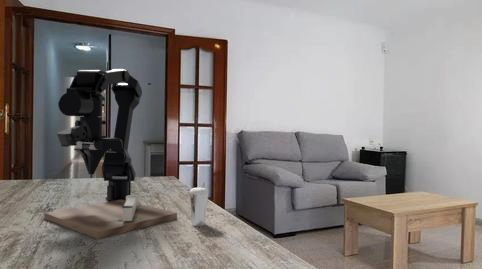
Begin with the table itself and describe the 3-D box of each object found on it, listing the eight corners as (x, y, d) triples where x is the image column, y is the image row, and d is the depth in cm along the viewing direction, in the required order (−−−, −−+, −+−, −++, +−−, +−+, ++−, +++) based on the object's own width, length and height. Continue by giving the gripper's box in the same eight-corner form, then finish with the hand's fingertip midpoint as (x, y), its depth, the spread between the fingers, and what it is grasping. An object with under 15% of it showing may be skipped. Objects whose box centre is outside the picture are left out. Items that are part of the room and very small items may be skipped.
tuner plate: (121, 204, 105) (121, 199, 105) (177, 218, 89) (177, 212, 89) (44, 218, 87) (44, 212, 87) (97, 239, 72) (97, 231, 72)
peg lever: (126, 205, 94) (126, 194, 94) (140, 205, 95) (140, 194, 95) (118, 221, 79) (118, 207, 79) (135, 220, 79) (135, 206, 79)
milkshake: (212, 222, 86) (212, 182, 86) (202, 228, 81) (203, 185, 81) (195, 220, 88) (196, 181, 88) (185, 226, 83) (186, 184, 83)
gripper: (41, 116, 91) (42, 174, 91) (85, 116, 81) (85, 182, 82) (80, 116, 100) (80, 170, 101) (123, 117, 91) (123, 176, 91)
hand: (91, 174), depth 94 cm, fingers closed
